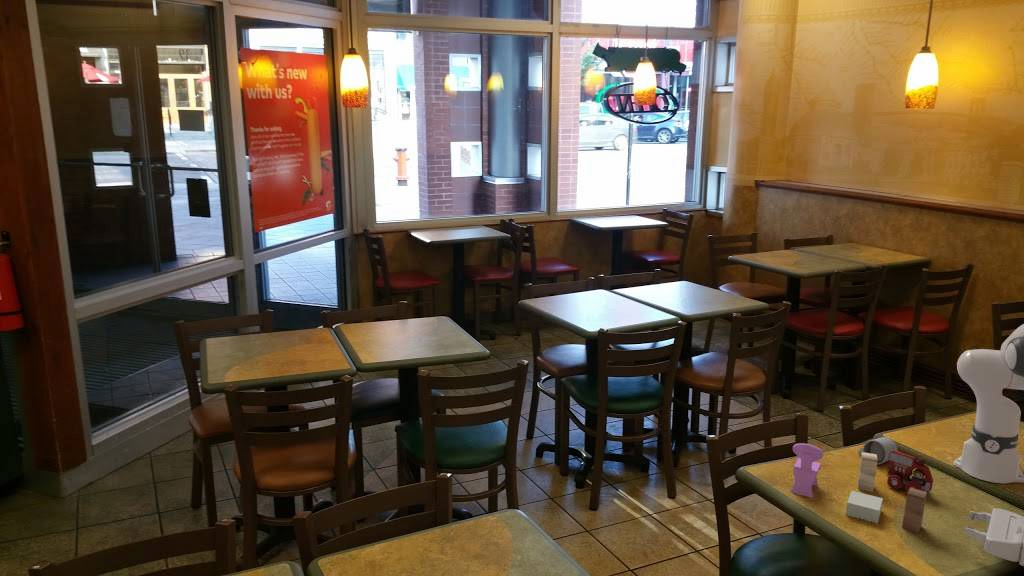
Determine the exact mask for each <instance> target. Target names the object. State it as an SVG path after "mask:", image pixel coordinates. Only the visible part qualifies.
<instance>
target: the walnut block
mask: <svg viewBox="0 0 1024 576" xmlns="http://www.w3.org/2000/svg"><path fill="white" fill-rule="evenodd" d="M927 494H928V492H925V491H923V490H917V489H913V488H910V489H909V491H908V493H907V492H906V498H905V499H906V500H905V506H904V513H903V517H902V518H903V519H902V527H901V528H902V529H905V530H908V531H912V532H914V533H915V532H916V533H918V532H919V533H920V530H921V529H922V527H923V526H922V525H923V518H924V513H925V507H926V501H927V500H926V499H927ZM920 528H921V529H920Z"/></svg>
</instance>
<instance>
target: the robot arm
mask: <svg viewBox="0 0 1024 576" xmlns="http://www.w3.org/2000/svg"><path fill="white" fill-rule="evenodd" d="M956 369H957V373H958V375H959V377H960V378H961V379H962V381H964V382H965V383H966V384H967V385H969V387H970V388H971V390H972V392H973V393H974V395H975V398H976V412H975V413H976V415H975V420H974V421H975V422H974V424H973V426H972V429H971V436H970V438H969V439H967V440H966V441H964V443H963V448H962V452H961V455H960V456H959V457H957V458H956V459H955V460H954V461H953V462H952V465H953V466H954V467H957V468H958V469H960V470H962V471H963V472H964V473H966V474H967V475H969V476H970V477H974V478H976V479H979V480H980V481H981V480H982V481H986V482H989V483H996V484H1011V483H1024V473H1023V471H1022V469H1021V457H1022V456H1021V454H1020V451H1019V450H1018V449H1017V446H1018V443H1019V434H1018V431H1019V427H1020V426H1019V425H1020V421H1021V416H1022V415H1021V414H1022V412H1021V408H1020V407H1019V405H1018V404H1017V403H1016V402H1014V401H1013V400H1012V399H1010V398H1008V397H1007V396H1005V395H1003V390H1004V389H1010V390H1021V391H1024V323H1023V324H1021V325H1020V326H1018V327H1017V328H1016V329H1015V330H1014V331H1012V333H1011V334H1009V336H1008V337H1007V338H1006V339H1005V340H1004V341H1003V343H1002V344H1001V347H1000V350H999V349H997V350H996V349H987V348H986V349H985V348H978V349H976V348H975V349H968V350H965V351H963V353H961V354H960V356H959V357H958V359H957V362H956ZM968 519H969V520H970V521H975V522H977V521H980V522H981V521H982V522H984V523H987V524H988V527H987V532H984V531H979V530H977V529H975V527H971V526H969V525H967V526H965V528H964V533H963V534H964V535H965V536H969V537H972V538H973V539H974V540H976V541H978V542H980V543H982V544H984V545H983V550H984V551H985V552H986V553H987V554H989V555H991V556H994V557H996V558H1000V559H1003V560H1007V561H1009V562H1014V563H1016V562H1018V564H1019V565H1020V566H1022V567H1024V516H1023V515H1020V514H1019V513H1015V512H1013V511H1009V510H1006V509H1003V508H999V507H994V508H993V509H992V512H991V513H989V512H977V511H973V510H971V511H970V512H969V516H968Z"/></svg>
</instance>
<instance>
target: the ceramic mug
mask: <svg viewBox="0 0 1024 576" xmlns="http://www.w3.org/2000/svg"><path fill="white" fill-rule="evenodd" d="M892 450H895V451H898V445H897V443H896V442H895V441H894V440H893V439H891V437H884V436H883V437H881V436H880V437H878V438H874V439H870V440H867V441H866V442H865V443H864V444H863V446H862V448H859V449H858V450H857V451H858V454H859V456H861V454H862V452H864V453H870V454H877V459H878V461H877V466H878V465H879V466H880V465H881V464H884V463H886V462H888V461H889V462H890V460H889V453H890V452H891V451H892ZM898 452H899V451H898Z"/></svg>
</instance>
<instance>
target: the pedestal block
mask: <svg viewBox="0 0 1024 576" xmlns="http://www.w3.org/2000/svg"><path fill="white" fill-rule="evenodd" d="M883 501H884V498H883V497H879V496H875V495H870V494H866V493H863V492H859V491H854V490H851V492H850V493H849V497H848V499H847V502H846V509H845V510H846V511H845V516H849V517H853V518H855V517H856V519H859V518H861V519H860V520H863V519H865V520H864V521H867V522H871V521H872V522H871V523H874V522H875V524H878V523H879V521H880V517H881V512H882V508H883Z"/></svg>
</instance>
